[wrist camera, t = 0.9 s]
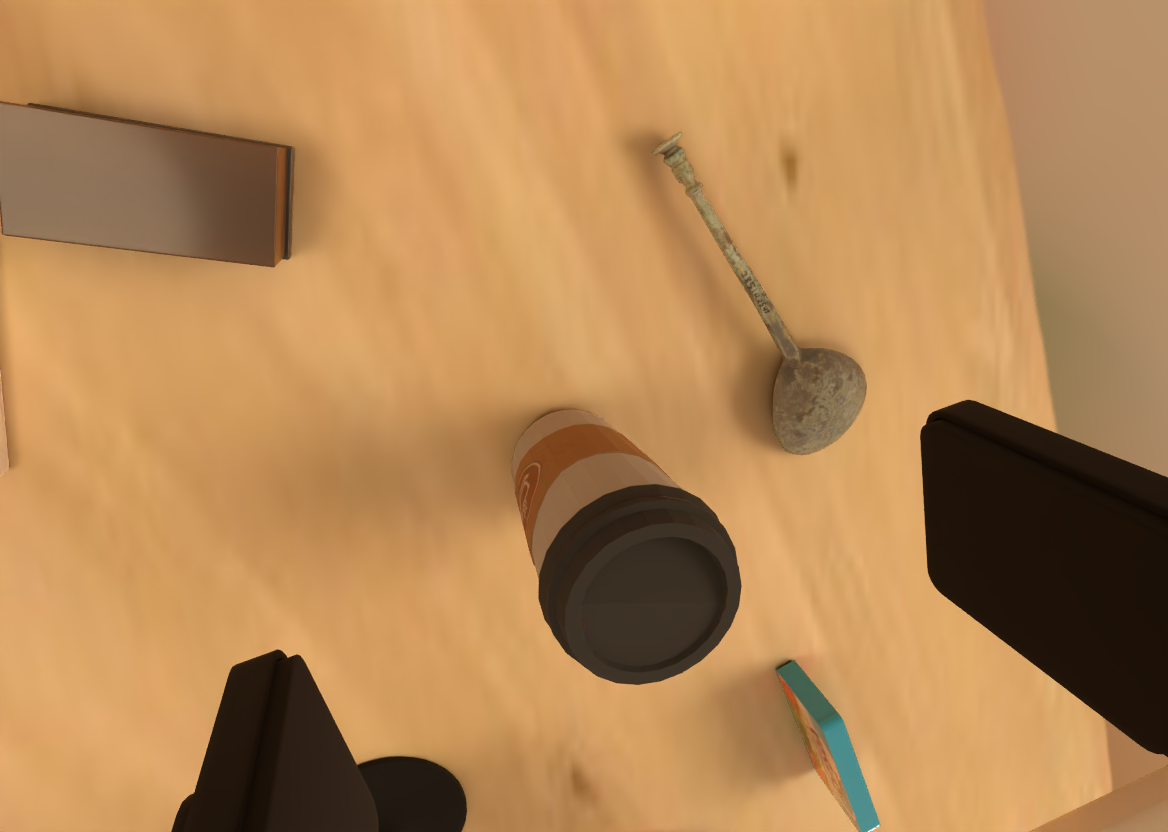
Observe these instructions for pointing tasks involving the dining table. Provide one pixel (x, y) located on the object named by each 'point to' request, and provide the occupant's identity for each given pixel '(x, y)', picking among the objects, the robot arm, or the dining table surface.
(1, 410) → the board
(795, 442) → the soupspoon
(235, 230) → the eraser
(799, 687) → the thin teal box
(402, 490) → the dining table surface
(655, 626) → the coffee cup
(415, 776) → the wine glass
